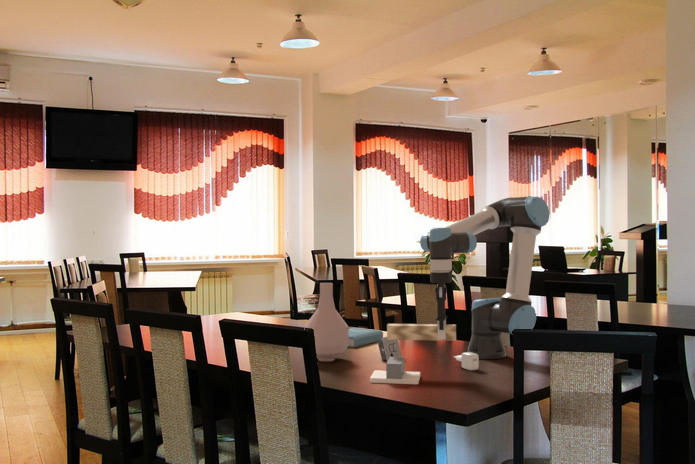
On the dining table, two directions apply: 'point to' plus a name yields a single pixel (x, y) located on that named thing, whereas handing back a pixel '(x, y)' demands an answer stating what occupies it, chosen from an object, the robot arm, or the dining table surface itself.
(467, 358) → the power adapter
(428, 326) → the beam
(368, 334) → the book
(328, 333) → the vase
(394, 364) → the fulcrum
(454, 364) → the dining table surface
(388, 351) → the electrical switch
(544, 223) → the robot arm
